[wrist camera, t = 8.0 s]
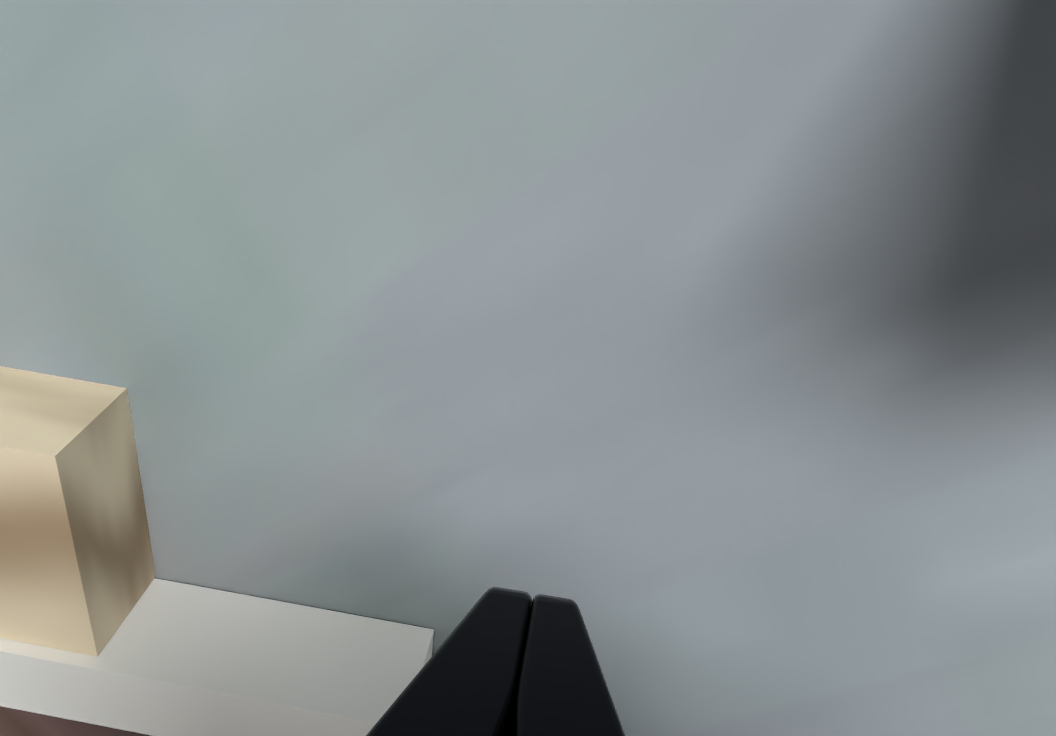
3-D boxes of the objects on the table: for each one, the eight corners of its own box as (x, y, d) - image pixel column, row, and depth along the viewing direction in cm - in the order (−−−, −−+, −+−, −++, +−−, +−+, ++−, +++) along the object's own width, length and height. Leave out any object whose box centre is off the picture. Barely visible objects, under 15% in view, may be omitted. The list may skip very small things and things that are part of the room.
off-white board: (429, 683, 27) (401, 784, 24) (-127, 579, 28) (-221, 662, 25) (433, 629, 26) (404, 728, 23) (-149, 522, 27) (-252, 603, 24)
